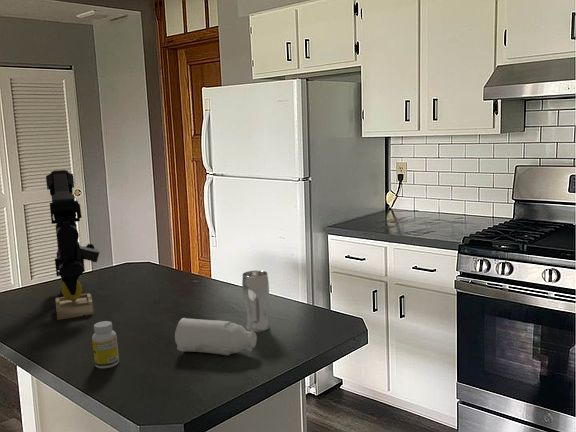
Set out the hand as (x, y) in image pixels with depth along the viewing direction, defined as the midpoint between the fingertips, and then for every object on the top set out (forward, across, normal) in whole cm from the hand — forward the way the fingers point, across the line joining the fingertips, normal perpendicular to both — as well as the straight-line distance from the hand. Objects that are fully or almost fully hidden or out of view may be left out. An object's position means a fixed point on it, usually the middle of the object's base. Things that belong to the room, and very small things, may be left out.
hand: (72, 291), depth 170 cm
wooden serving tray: (+6, 0, 0) cm, 6 cm away
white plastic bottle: (+7, -50, -30) cm, 58 cm away
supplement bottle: (+7, -45, -5) cm, 46 cm away
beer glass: (+7, -40, -44) cm, 60 cm away
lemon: (+4, 0, 0) cm, 4 cm away
